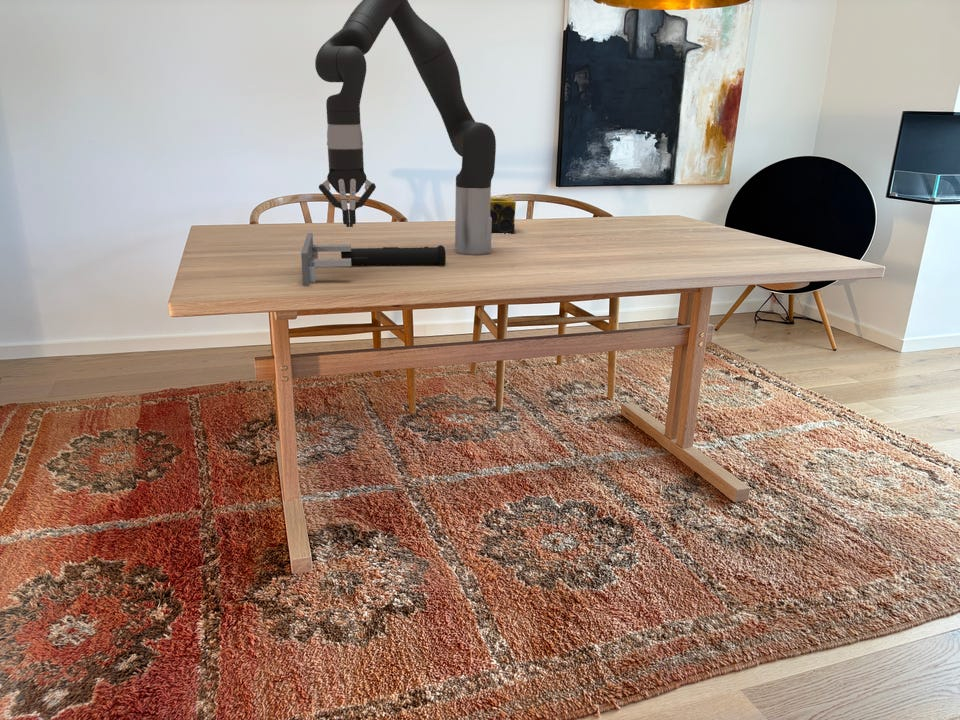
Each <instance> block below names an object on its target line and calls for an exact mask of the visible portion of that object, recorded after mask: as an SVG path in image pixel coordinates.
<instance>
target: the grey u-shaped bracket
mask: <svg viewBox="0 0 960 720" xmlns="http://www.w3.org/2000/svg"><path fill="white" fill-rule="evenodd" d="M351 248H352V244H351V243H350V244H349V243H348V244H343V243H342V244H313V245H312V256H313V259H309V261H308V263H309V280H310V283H311V282H312V283H313V284H314V283H316V282H317V277H316V267H317V268H320V267H321V268H322V267H323V268H325V267H330V268H331V267H334V268H335V267H352V266H351V258H341V257H340V258H319V253H323V252H324V253H326V252H327V253H329V252H330V253H331V252H334V253H335V252H340V253H341V252H347V251H351ZM310 283H309V284H310Z"/></svg>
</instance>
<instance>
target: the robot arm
mask: <svg viewBox="0 0 960 720" xmlns="http://www.w3.org/2000/svg"><path fill="white" fill-rule="evenodd" d="M390 19H391V21H392V22H393V24H394V26H395V28H396V30H397V31H398V33H399V35H400V37H401V39H402V41H403V43H404V45H405V47H406V48H407V51H408V52H409V55H410V57H411V59H412V62H413V64H414V66H415V68H416V70H417V72H418V73H419V76H420V78H421V80H422V82H423V84H424V85H425V87H426V90H427V91H428V93H429V95H430V98H431V99H432V101H433V103H434V105H435V107H436V108H437V110H438V113H439V115H440V117H441V120H442V122H443V124H444V127H445V130H446V132H447V135H448V138H449V141H450V143H451V146H452V148H453V150H454V151H455V153H456V154H458V155H459V156H460V157H461V169H460V171H459V173H457V174H456V176H455V208H454V209H455V212H454V213H455V214H454V215H455V216H454V217H455V222H454V223H455V227H454V229H455V230H454V233H455V234H454V237H455V238H454V252H455V253H457V254H460V255H461V254H462V255H470V256H471V255H473V256H475V255H485V254H491V253H492V234H491V228H492V218H491V217H490V201H491V197H492V195H491V194H492V192H491V190H492V180H493V178H494V174H495V167H496V166H495V165H496V151H497V140H496V136H495V132H494V130H493V129H492V128H491V126H490V125H488V124H486V123H484V122H478V121H476V120H475V119H474V117H473V116H472V114H471V112H470V110H469V108H468V106H467V104H466V102H465V99H464V97H463V91H462V85H461V84H462V83H461V76H460V71H459V68H458V67H459V66H458V64H457V61H456V60H455V57H454V55H453V53H452V51H451V48H450V47H449V44H448V42H447V41H446V40H445V38H444V36H442V35H441V34H440V33H439V32H438V31H437V30H436V29H434V28H433V27H432V26H431V25H429V24H428V23H427V22H425V21H424V20H423V19H422V18H421V17H420V16H419V15H418V14H417V12H415V10H414V9H413V7H412V6H411V3H410V2H409V0H361V1H360V2H359V4H358V5H356V7H355V8H354V9H353V10H352V12H351V13H350V15H349V16H348V18H347V20H345V22H344V24H343V26H342V28H341V29H340V30H339V31H337V32H336V33H334V34H333V35H332V36H331V37H330V38H329V39H328V40H326V41H325V42H324V44H322V46H320V48H319V50H318V51H317V54H316V56H315V61H314V62H315V63H314V65H315V72H316V73H317V75H318V77H319V78H320V79H321V80H323V81H324V82H326V83H327V82H328V83H342V86H341V90H340V92H339V93H336V94H335V93H334V94H333V95H329V96H328V97H327V99H326V102H325V103H326V105H325V106H326V108H325V109H326V123H327V130H326V139H327V141H326V146H327V158H328V159H327V160H328V174H327V177H326V179H325V181H323V182H322V183H320V184H319V185H318V190H320V192H321V193H322V194H323V195H324V197H325V198H326V199H327V200H328V201H329V203H330V204H331V205H332V206H333V207H334V208H338V209H340V210H341V212H342V222H343V225H346V228H353V227H354V225H356V223H357V218H356V217H357V215H356V210H357V209H359V208H363V206H364V205H365V204H366V202H367V201H368V200H369V198H370V197H371V195H372V194H373V193H374V191H375V190H376V187H377V186H376V184H375V182H372V181H370V180H369V179H368V178H367V175H366V173H365V169H364V167H365V164H364V141H363V132H362V125H361V106H360V105H361V101H362V100H361V99H362V95H363V89H364V83H365V80H366V77H367V75H366V74H367V61H366V58H365V57H366V56H365V55H366V54H367V53H369V51H370V50H371V49H372V47H373V46H374V44H375V42H376V40H377V39H378V37H379V35H380V33H381V32H382V30H383V28H384V27H385V26H386V24H387V22H388V21H389V20H390ZM330 185H331V186H332V188H333V189H334V190H335V192H336V193H338V194H339V196H340V201H339V200H338V199H337V198H336V197H335V195H334V194H332V192H331V191H330V190H331V186H330ZM363 186H364V190H365V191H364V192H363V194H362V195H361V197H359V199H358V200H356V194H357V193H359V192H360V191H361V189H362V187H363ZM347 194H349V206H348V201H347ZM348 207H349V208H348Z"/></svg>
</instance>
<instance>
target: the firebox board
mask: <svg viewBox="0 0 960 720" xmlns="http://www.w3.org/2000/svg"><path fill="white" fill-rule="evenodd" d="M313 237H314V236H313V233H312V232H306V236H305V240H304V242H303V246H302V250H301V255H300V256H301V270H302V286H304V287H306V286H307V287H309V286H310V280H309V263H308V261H309V259H313V256H312V245H314V239H313Z"/></svg>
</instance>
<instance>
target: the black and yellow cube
mask: <svg viewBox="0 0 960 720" xmlns="http://www.w3.org/2000/svg"><path fill="white" fill-rule="evenodd" d="M516 203H517V202H516V201H515V200H514V199H513V198H512V197H492V196H491V201H490V217H491V218H492V228H491V233H504V234H503V235H507V234H506V233H511V234H510V235H514V234H515V226H516V224H515V220H516V219H515V218H516V217H515V216H516V207H517V206H516Z"/></svg>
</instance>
